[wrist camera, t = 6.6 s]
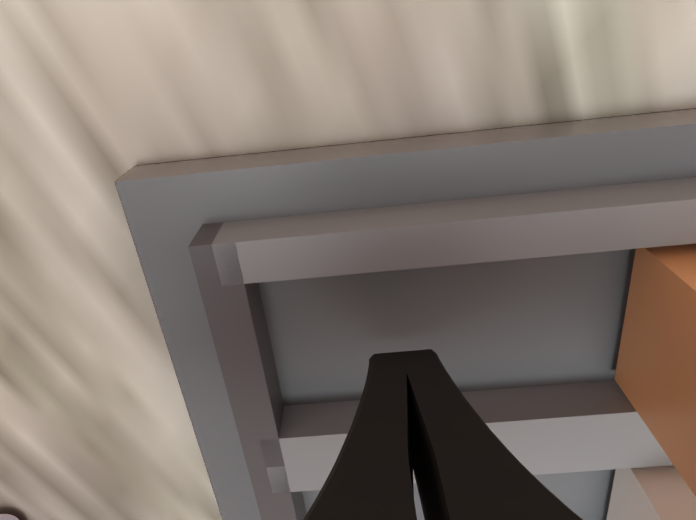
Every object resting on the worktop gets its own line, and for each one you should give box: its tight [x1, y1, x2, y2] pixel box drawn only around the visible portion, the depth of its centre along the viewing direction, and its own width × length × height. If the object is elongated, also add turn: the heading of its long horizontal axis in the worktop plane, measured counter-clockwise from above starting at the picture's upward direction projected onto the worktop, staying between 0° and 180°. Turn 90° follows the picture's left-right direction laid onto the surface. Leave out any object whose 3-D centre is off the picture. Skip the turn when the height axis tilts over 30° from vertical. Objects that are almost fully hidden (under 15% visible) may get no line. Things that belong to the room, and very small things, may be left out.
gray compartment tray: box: [115, 109, 696, 520], centre depth 14 cm, size 15×19×2 cm
